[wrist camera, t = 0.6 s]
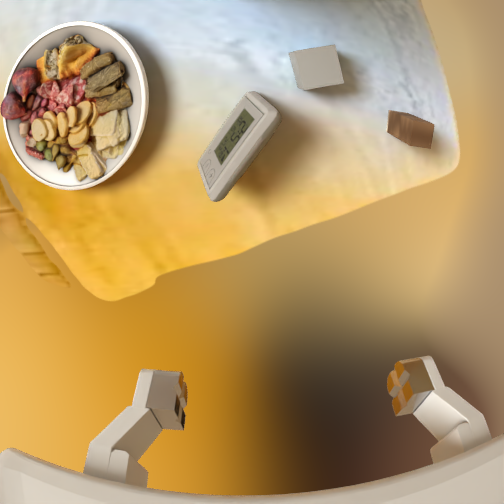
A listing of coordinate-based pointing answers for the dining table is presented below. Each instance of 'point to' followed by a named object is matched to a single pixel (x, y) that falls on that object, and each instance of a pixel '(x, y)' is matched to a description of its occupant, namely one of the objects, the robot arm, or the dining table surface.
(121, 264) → the dining table surface
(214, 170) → the digital clock
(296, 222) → the dining table surface
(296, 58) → the grey cube
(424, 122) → the walnut post
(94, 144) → the bowl
